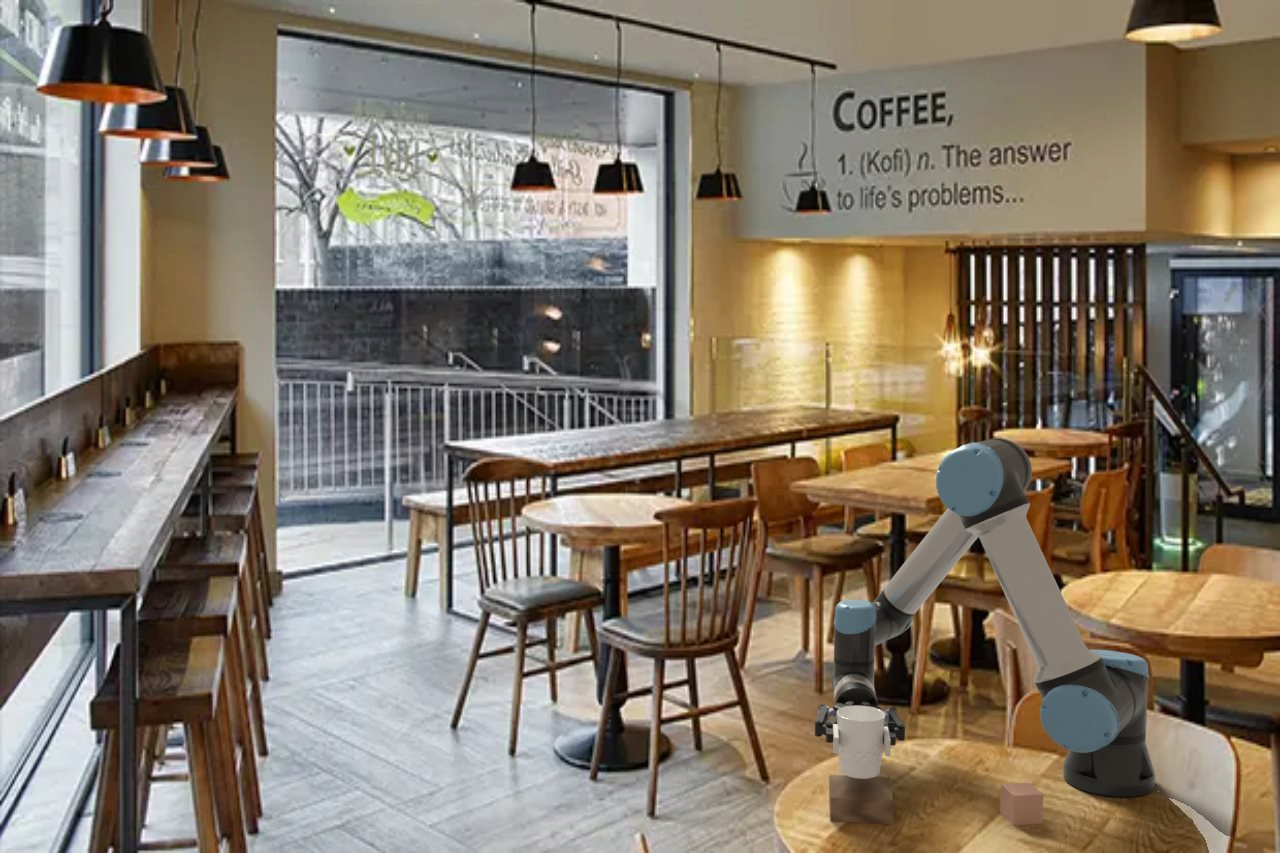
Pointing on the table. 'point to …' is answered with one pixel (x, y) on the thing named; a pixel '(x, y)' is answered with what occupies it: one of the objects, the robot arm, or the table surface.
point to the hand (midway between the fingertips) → (862, 746)
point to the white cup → (860, 741)
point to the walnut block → (860, 799)
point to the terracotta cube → (1021, 803)
